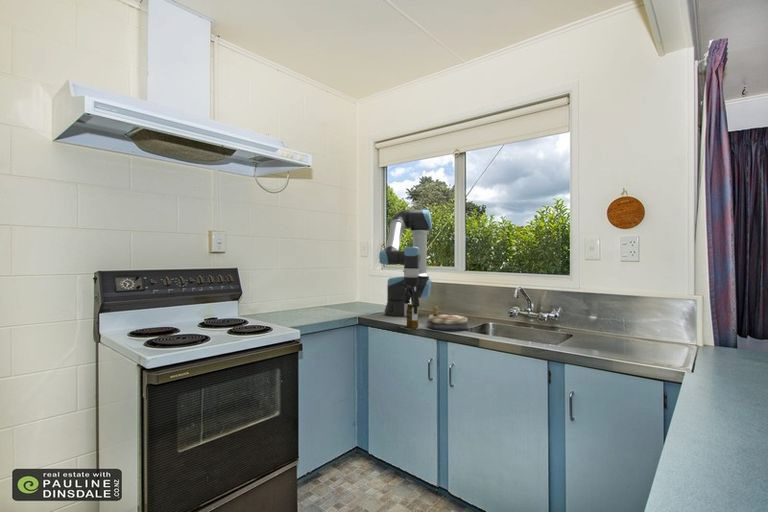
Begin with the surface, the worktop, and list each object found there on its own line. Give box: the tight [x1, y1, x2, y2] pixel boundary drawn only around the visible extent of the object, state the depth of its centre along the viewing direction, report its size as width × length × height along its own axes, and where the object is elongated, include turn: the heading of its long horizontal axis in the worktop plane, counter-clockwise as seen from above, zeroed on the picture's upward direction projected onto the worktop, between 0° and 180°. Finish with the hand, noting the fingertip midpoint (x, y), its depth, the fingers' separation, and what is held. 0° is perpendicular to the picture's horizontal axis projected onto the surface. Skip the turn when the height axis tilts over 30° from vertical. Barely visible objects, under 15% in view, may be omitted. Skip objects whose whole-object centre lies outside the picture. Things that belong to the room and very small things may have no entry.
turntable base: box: [427, 314, 469, 332], centre depth 205 cm, size 21×21×5 cm
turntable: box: [428, 305, 469, 324], centre depth 205 cm, size 20×20×6 cm
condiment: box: [400, 303, 421, 331], centre depth 203 cm, size 7×8×12 cm
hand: (410, 318), depth 202 cm, fingers open, 13 cm apart
